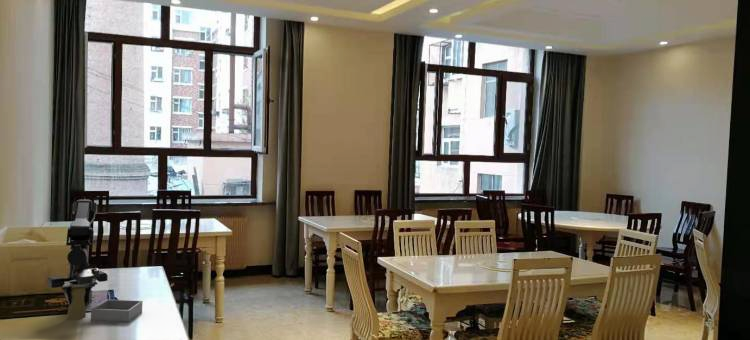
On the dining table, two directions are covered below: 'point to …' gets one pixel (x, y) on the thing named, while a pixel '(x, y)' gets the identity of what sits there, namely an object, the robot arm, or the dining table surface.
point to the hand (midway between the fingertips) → (76, 302)
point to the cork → (77, 303)
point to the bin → (116, 311)
